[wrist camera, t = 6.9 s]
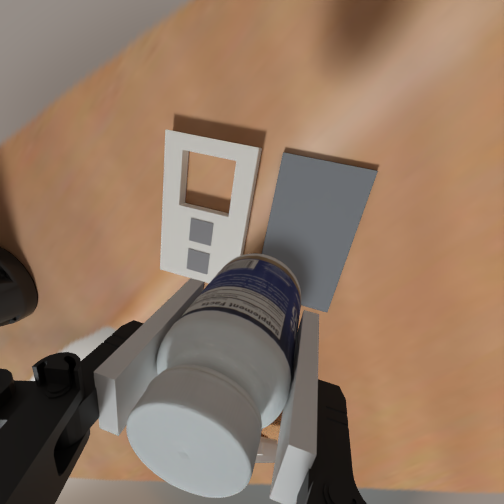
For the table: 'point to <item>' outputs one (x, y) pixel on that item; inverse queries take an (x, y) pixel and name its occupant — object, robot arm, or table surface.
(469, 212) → the table surface
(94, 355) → the robot arm
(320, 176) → the rubber mat
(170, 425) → the pill bottle
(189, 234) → the socket strip
